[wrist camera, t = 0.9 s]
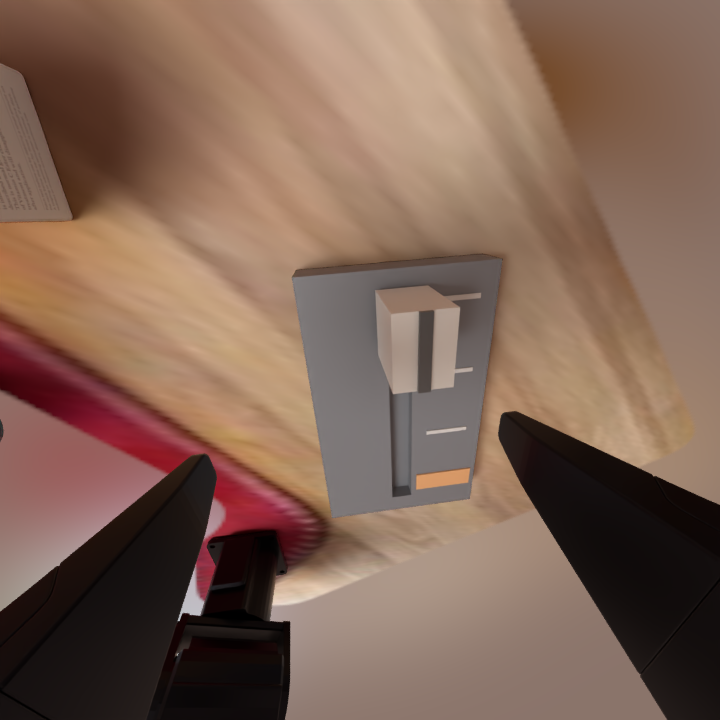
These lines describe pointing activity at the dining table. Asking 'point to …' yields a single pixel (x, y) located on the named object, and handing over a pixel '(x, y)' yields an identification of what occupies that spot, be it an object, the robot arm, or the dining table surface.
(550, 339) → the dining table surface
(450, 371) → the fader knob
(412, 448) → the console
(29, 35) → the dining table surface
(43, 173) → the small box
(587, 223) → the dining table surface
